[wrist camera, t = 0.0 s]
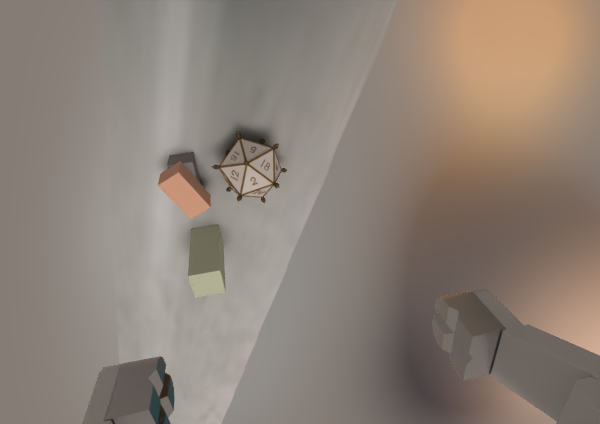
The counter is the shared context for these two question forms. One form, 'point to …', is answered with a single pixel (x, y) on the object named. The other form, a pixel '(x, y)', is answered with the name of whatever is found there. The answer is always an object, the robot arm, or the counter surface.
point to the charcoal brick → (185, 163)
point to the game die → (251, 168)
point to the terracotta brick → (184, 190)
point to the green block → (206, 261)
